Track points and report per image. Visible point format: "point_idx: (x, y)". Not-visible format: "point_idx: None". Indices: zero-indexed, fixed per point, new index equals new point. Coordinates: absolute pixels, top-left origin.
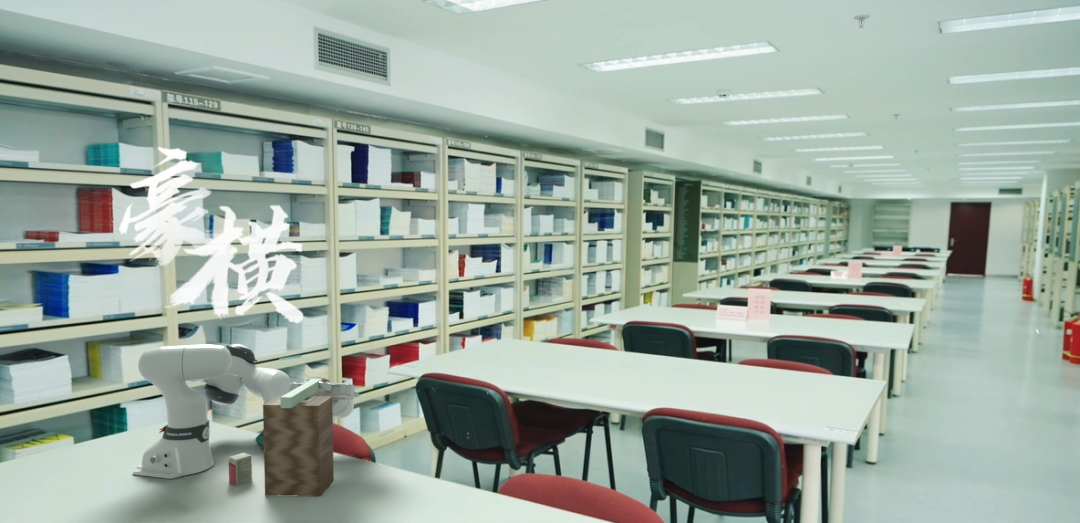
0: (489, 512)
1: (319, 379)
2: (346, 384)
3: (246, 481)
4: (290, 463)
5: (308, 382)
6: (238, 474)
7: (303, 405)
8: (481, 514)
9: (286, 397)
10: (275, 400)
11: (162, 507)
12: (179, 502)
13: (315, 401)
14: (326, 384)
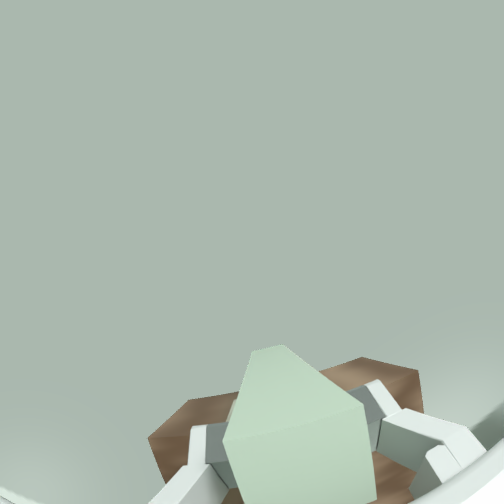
0: (23, 500)
1: (247, 419)
2: (8, 501)
3: None
4: None
5: (298, 375)
6: None
7: (235, 392)
8: (31, 500)
9: (265, 348)
10: (366, 368)
11: (485, 432)
12: (486, 445)
13: (208, 408)
14: (182, 477)
